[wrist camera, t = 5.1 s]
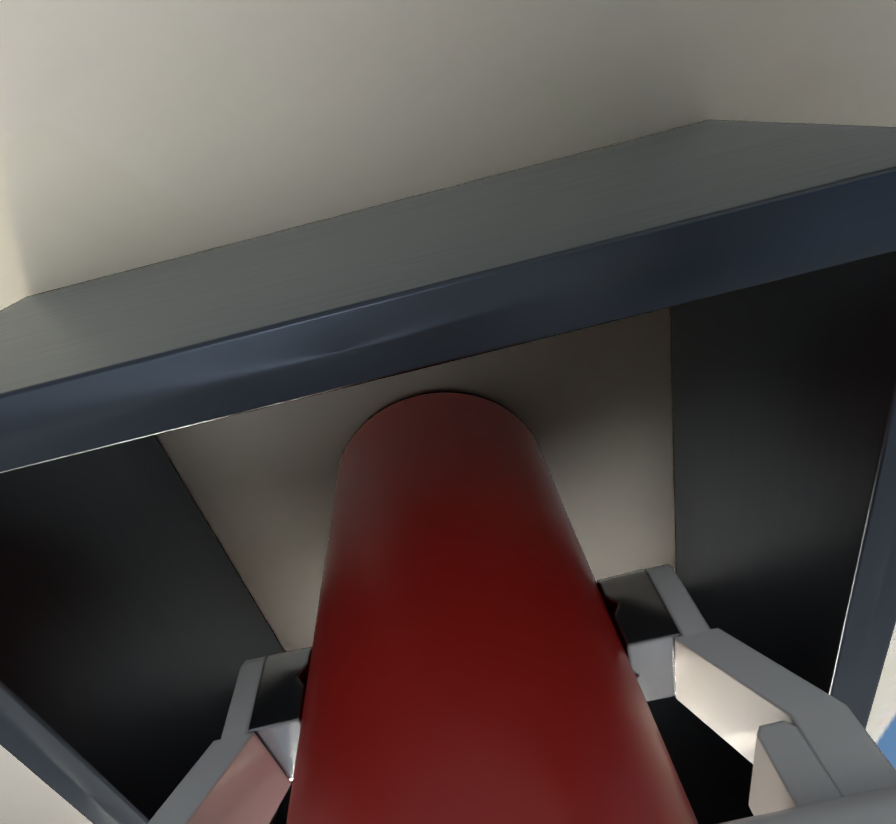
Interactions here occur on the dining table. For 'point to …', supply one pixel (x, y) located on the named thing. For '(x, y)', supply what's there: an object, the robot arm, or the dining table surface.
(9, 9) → the dining table surface
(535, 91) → the dining table surface
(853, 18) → the dining table surface
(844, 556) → the open box
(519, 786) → the can
